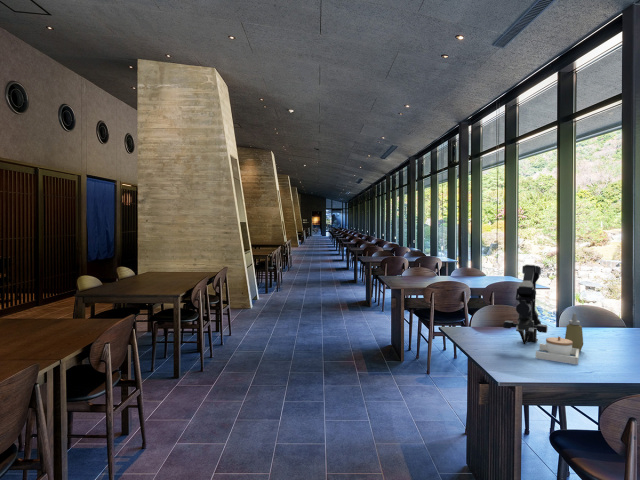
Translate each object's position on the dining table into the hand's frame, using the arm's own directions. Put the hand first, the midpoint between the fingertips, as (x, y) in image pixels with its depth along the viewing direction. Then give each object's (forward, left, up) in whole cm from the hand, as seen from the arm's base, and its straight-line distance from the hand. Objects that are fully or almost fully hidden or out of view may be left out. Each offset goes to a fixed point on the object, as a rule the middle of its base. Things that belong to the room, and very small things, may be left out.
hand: (524, 344), depth 207 cm
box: (0, +14, -4) cm, 14 cm away
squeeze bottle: (-17, +20, -4) cm, 26 cm away
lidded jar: (0, +14, -4) cm, 15 cm away
